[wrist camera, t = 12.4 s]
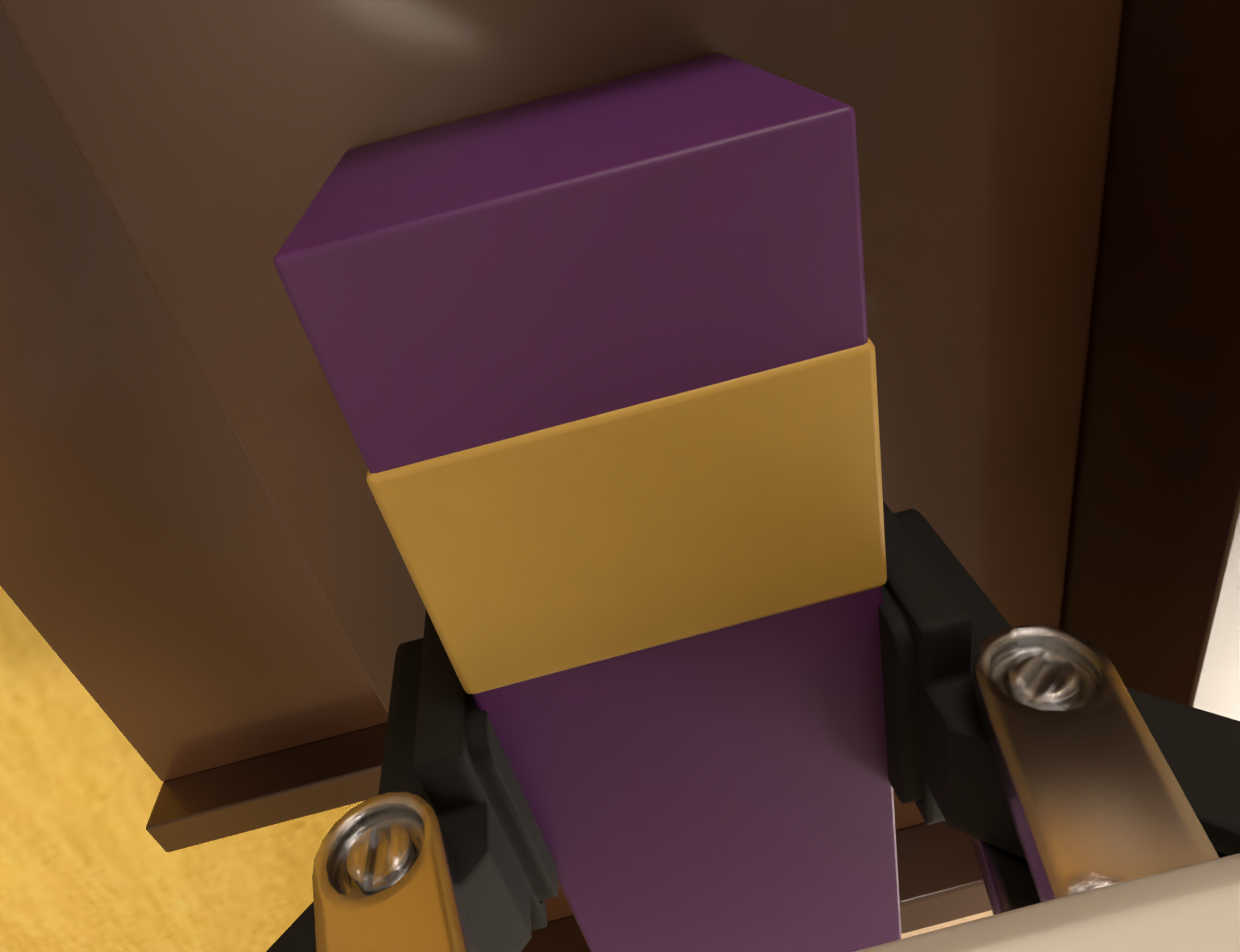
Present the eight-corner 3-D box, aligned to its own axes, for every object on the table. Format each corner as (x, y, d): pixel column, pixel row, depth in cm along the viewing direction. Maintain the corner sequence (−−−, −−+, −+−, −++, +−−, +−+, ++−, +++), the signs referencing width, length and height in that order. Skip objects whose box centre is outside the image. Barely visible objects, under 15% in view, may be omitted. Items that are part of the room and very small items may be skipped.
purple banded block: (726, 49, 9) (866, 102, 6) (820, 765, 16) (909, 979, 13) (339, 149, 9) (259, 263, 6) (600, 824, 16) (632, 1053, 13)
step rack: (832, -298, 17) (1786, -996, 5) (878, 511, 29) (1189, 945, 16) (-253, -16, 17) (-2279, 53, 5) (226, 683, 29) (25, 1253, 16)
